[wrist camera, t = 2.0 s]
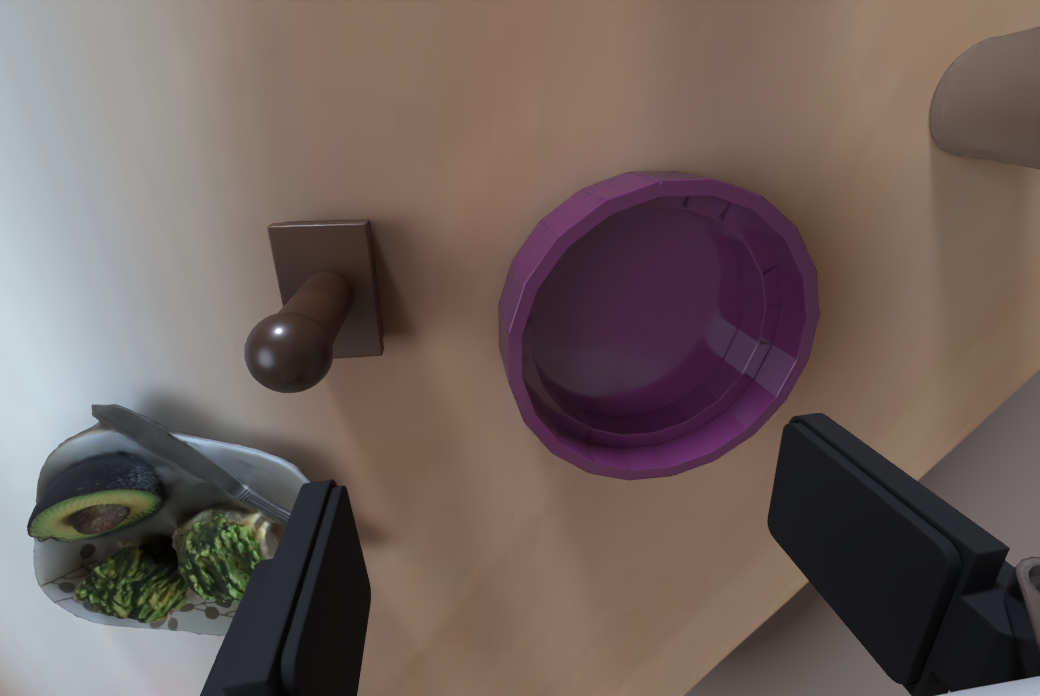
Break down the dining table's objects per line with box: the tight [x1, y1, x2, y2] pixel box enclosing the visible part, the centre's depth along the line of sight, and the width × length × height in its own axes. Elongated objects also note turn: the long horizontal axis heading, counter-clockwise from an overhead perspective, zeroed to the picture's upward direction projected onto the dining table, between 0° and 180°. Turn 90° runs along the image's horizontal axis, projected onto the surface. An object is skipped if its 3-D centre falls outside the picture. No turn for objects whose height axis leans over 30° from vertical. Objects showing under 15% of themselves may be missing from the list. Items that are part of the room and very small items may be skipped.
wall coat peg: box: [245, 220, 384, 393], centre depth 24 cm, size 7×5×12 cm, turn 0°
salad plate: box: [27, 404, 311, 636], centre depth 32 cm, size 19×18×5 cm
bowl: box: [498, 171, 819, 480], centre depth 30 cm, size 18×18×6 cm
